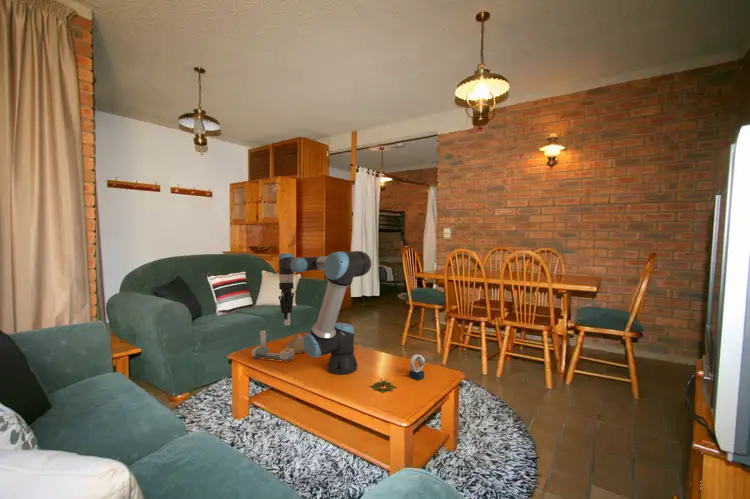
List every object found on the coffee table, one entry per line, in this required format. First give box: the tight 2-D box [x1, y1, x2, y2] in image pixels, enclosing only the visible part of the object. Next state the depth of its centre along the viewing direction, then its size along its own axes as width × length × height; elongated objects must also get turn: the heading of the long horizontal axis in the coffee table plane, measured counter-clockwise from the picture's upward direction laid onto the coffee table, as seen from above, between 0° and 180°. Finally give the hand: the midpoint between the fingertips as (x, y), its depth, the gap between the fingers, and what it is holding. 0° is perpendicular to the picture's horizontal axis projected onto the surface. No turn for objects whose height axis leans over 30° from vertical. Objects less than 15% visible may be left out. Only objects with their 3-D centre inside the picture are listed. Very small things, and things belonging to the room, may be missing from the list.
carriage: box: [257, 329, 270, 355], centre depth 187 cm, size 4×5×13 cm
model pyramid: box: [282, 333, 307, 355], centre depth 200 cm, size 17×17×10 cm
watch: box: [408, 353, 426, 382], centre depth 159 cm, size 6×8×11 cm
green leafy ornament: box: [369, 377, 397, 394], centre depth 150 cm, size 12×12×5 cm
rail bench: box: [251, 345, 295, 362], centre depth 185 cm, size 22×7×5 cm, turn 75°
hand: (287, 324), depth 182 cm, fingers closed
